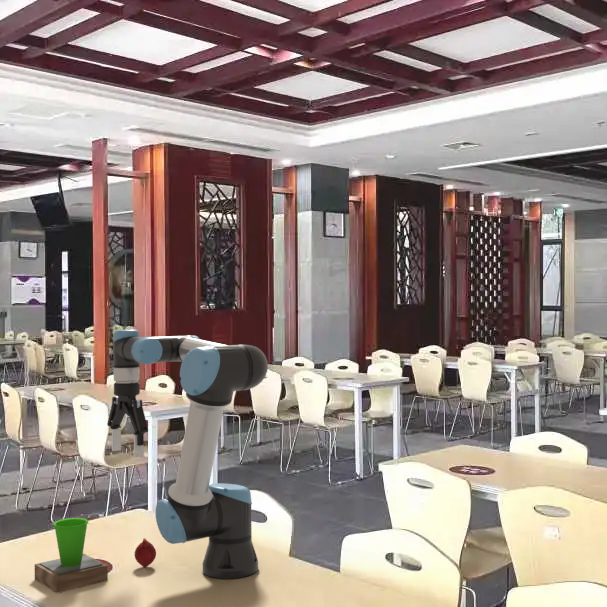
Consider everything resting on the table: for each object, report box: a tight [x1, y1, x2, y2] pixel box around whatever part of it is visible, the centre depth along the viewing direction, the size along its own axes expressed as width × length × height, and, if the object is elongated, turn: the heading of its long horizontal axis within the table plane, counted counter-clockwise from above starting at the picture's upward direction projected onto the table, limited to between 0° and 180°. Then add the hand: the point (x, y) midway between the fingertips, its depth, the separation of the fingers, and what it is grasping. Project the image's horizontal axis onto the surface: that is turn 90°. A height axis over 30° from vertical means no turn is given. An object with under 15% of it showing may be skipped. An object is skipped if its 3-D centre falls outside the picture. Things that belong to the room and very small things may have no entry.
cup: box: [52, 517, 90, 567], centre depth 218 cm, size 9×9×11 cm
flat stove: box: [34, 553, 109, 594], centre depth 218 cm, size 14×14×4 cm
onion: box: [134, 537, 157, 568], centre depth 228 cm, size 6×6×8 cm
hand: (127, 453), depth 243 cm, fingers open, 13 cm apart
